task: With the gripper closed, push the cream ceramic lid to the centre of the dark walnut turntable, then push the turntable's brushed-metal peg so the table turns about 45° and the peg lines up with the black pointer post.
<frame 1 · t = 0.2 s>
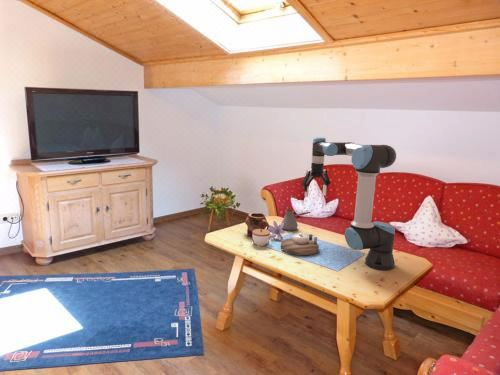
hand: (315, 196, 245), 27 cm above the table, fingers open, 13 cm apart
coffee pot: (295, 230, 263), on the table
lidded jar: (260, 244, 236), on the table
decorative planter: (257, 236, 250), on the table
water lily: (275, 239, 246), on the table
pointer post: (310, 242, 240), on the table
lid: (300, 241, 233), point 3 cm above the table, touching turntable
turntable: (299, 242, 228), point 4 cm above the table, hinge at 0.0°, touching lid
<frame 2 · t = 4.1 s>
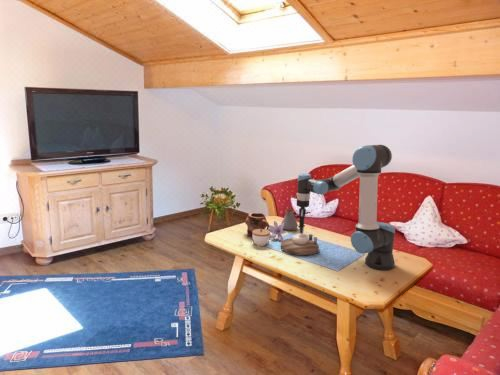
hand: (300, 237, 237), 4 cm above the table, fingers closed
lid: (300, 242, 232), point 3 cm above the table, touching gripper
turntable: (299, 242, 228), point 4 cm above the table, hinge at 0.0°
everything else where it was.
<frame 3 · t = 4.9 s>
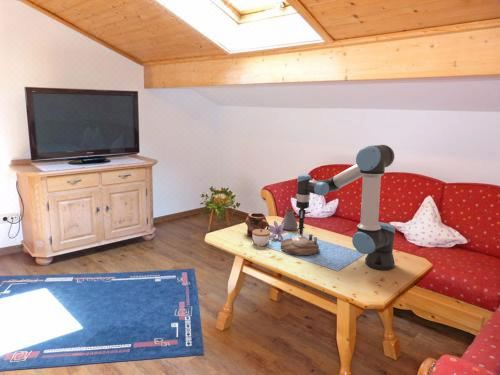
hand: (300, 238, 234), 4 cm above the table, fingers closed
lid: (299, 244, 229), point 3 cm above the table, touching gripper, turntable
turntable: (299, 242, 228), point 4 cm above the table, hinge at 0.0°, touching lid
everything else where it was.
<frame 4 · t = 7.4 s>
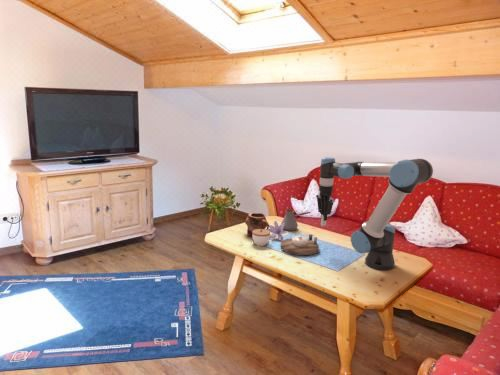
hand: (323, 225, 223), 16 cm above the table, fingers closed
lid: (299, 244, 229), point 3 cm above the table, touching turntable
everything else where it was.
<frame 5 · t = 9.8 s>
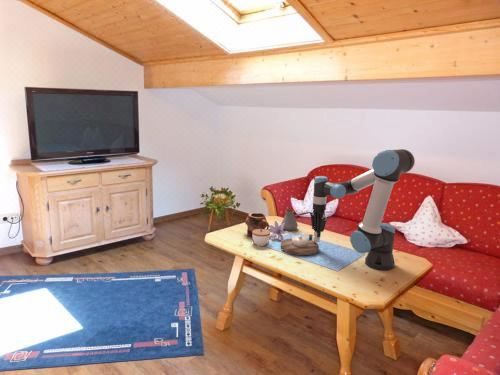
hand: (316, 241, 229), 5 cm above the table, fingers closed
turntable: (299, 242, 228), point 4 cm above the table, hinge at 1.9°, touching gripper, lid
everything else where it was.
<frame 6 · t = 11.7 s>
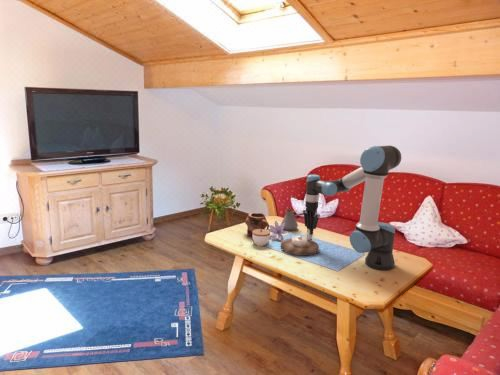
hand: (309, 239, 234), 4 cm above the table, fingers closed
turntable: (299, 242, 228), point 4 cm above the table, hinge at 41.8°, touching gripper, lid
everything else where it was.
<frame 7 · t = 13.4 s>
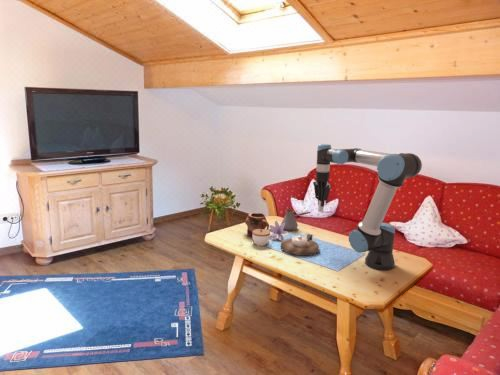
hand: (320, 211, 227), 23 cm above the table, fingers closed
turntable: (299, 242, 228), point 4 cm above the table, hinge at 41.8°, touching lid
everything else where it was.
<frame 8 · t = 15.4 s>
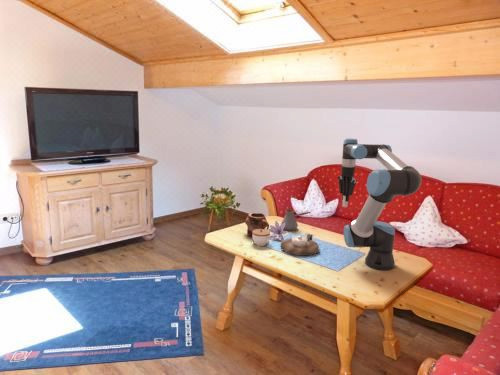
hand: (344, 206, 225), 26 cm above the table, fingers closed
at the end: lid 0.3 cm from the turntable (horizontally); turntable at +42° (first picture: +0°); lid tilted 0° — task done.
